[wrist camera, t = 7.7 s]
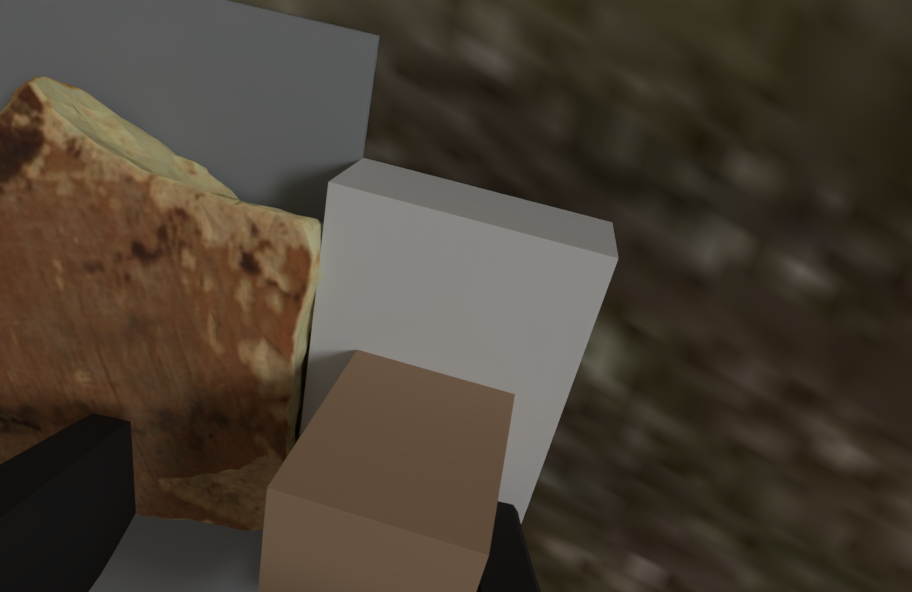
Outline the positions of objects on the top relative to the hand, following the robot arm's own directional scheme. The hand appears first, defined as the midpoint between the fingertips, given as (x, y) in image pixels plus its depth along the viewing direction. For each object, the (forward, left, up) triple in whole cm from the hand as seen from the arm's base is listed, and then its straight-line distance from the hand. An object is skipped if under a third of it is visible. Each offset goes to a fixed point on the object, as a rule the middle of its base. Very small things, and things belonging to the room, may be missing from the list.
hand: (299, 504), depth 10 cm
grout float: (0, -2, -2) cm, 3 cm away
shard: (0, +4, -2) cm, 5 cm away
